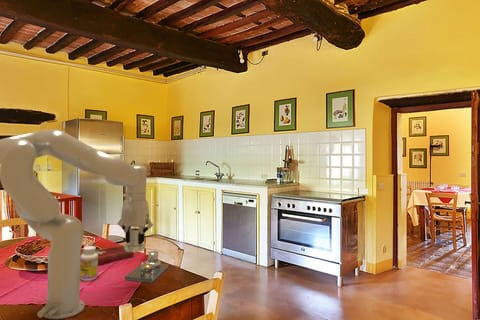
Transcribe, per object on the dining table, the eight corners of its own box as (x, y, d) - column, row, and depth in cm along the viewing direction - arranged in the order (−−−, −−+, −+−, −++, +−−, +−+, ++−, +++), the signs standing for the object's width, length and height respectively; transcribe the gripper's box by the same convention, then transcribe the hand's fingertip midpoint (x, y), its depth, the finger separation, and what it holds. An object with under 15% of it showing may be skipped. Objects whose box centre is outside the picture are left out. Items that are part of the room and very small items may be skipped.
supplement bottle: (76, 279, 138) (77, 248, 138) (90, 274, 144) (90, 244, 144) (87, 282, 135) (88, 250, 135) (100, 277, 141) (101, 247, 140)
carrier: (152, 282, 137) (152, 264, 137) (124, 280, 139) (125, 262, 139) (168, 267, 156) (169, 251, 156) (143, 265, 158) (144, 249, 157)
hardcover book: (134, 257, 169) (134, 249, 169) (92, 267, 153) (92, 258, 153) (121, 252, 177) (122, 244, 177) (81, 261, 161) (81, 252, 161)
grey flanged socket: (139, 253, 129) (140, 232, 129) (121, 251, 130) (121, 231, 130) (147, 247, 137) (148, 227, 136) (130, 246, 138) (130, 226, 138)
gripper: (111, 197, 130) (110, 243, 131) (152, 199, 128) (151, 247, 128) (120, 194, 138) (119, 238, 138) (160, 196, 135) (158, 241, 136)
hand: (134, 242), depth 133 cm, fingers closed on grey flanged socket, 4 cm apart
